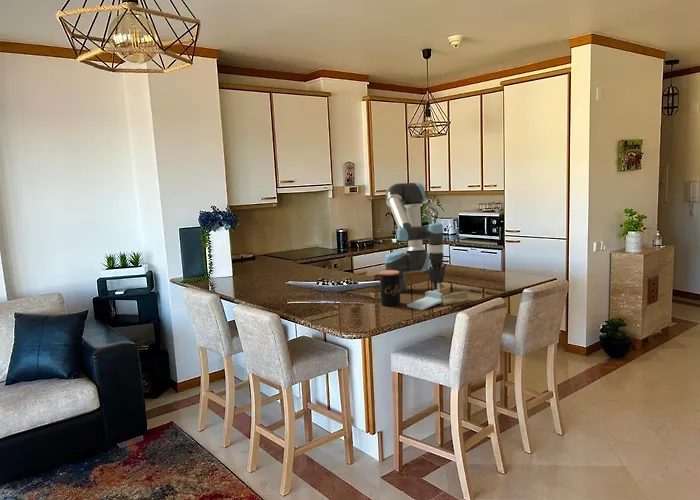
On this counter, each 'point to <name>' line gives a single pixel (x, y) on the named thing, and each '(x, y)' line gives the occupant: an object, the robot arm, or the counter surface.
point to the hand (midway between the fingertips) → (437, 295)
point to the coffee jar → (390, 287)
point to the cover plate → (427, 301)
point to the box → (451, 296)
